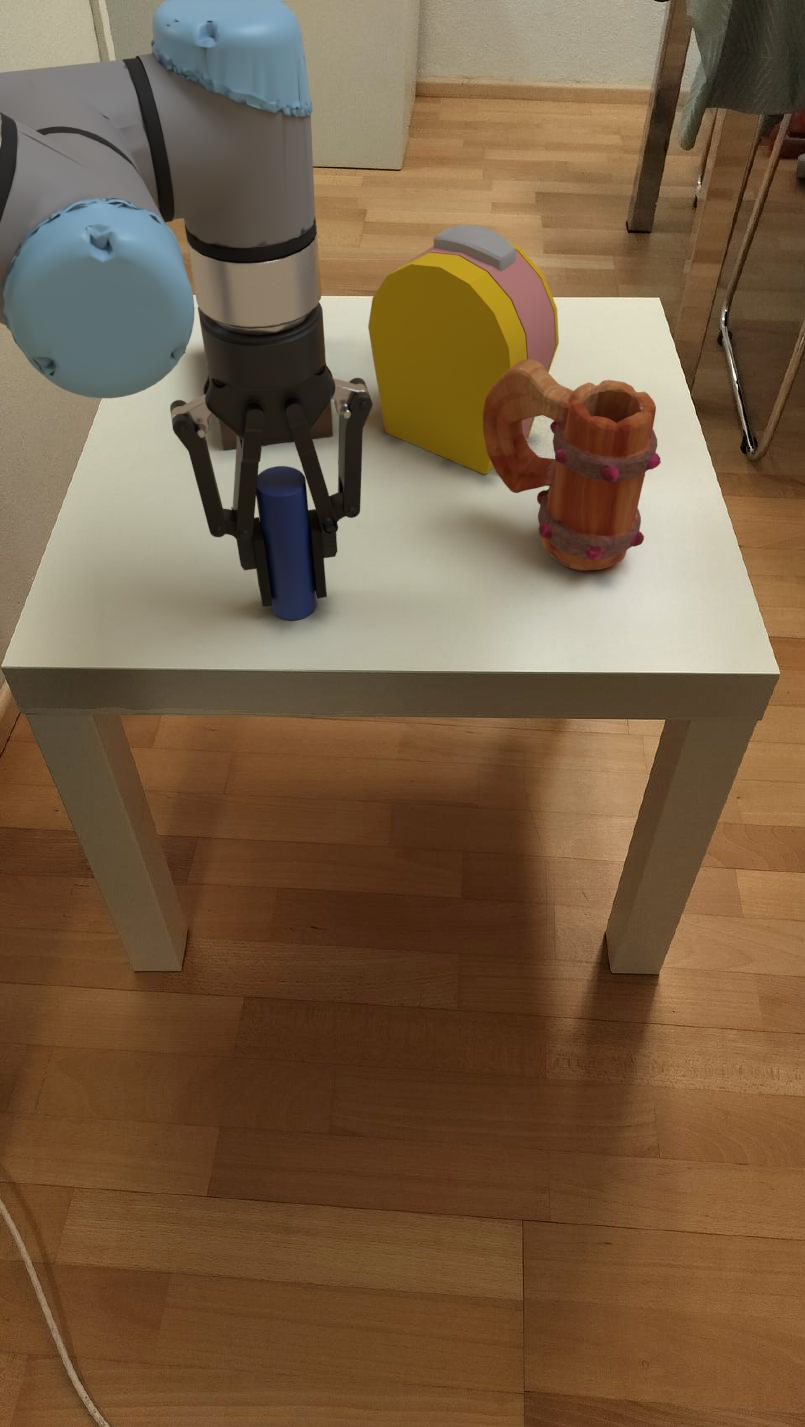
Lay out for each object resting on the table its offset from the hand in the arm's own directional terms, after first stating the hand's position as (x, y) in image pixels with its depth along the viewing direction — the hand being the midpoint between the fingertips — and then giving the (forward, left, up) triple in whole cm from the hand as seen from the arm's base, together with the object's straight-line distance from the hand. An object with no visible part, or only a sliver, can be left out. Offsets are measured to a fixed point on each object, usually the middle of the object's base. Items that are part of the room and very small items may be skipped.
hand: (292, 589), depth 78 cm
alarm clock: (+19, +20, -2) cm, 28 cm away
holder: (+2, +31, -2) cm, 31 cm away
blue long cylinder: (0, 0, -2) cm, 2 cm away
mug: (+23, +3, -2) cm, 23 cm away
